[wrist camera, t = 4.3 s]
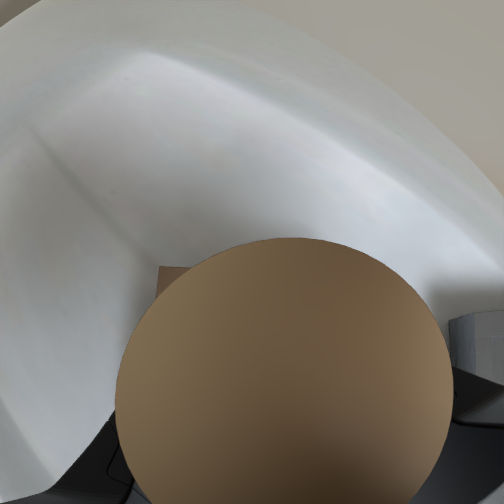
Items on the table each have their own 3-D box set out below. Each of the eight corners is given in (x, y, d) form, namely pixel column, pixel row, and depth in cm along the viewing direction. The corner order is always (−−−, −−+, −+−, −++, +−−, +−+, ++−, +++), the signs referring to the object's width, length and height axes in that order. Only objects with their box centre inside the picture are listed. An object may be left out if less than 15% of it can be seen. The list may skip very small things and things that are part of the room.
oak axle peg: (209, 414, 14) (122, 541, 3) (213, 328, 16) (132, 231, 4) (298, 416, 14) (433, 528, 3) (300, 331, 16) (444, 246, 4)
